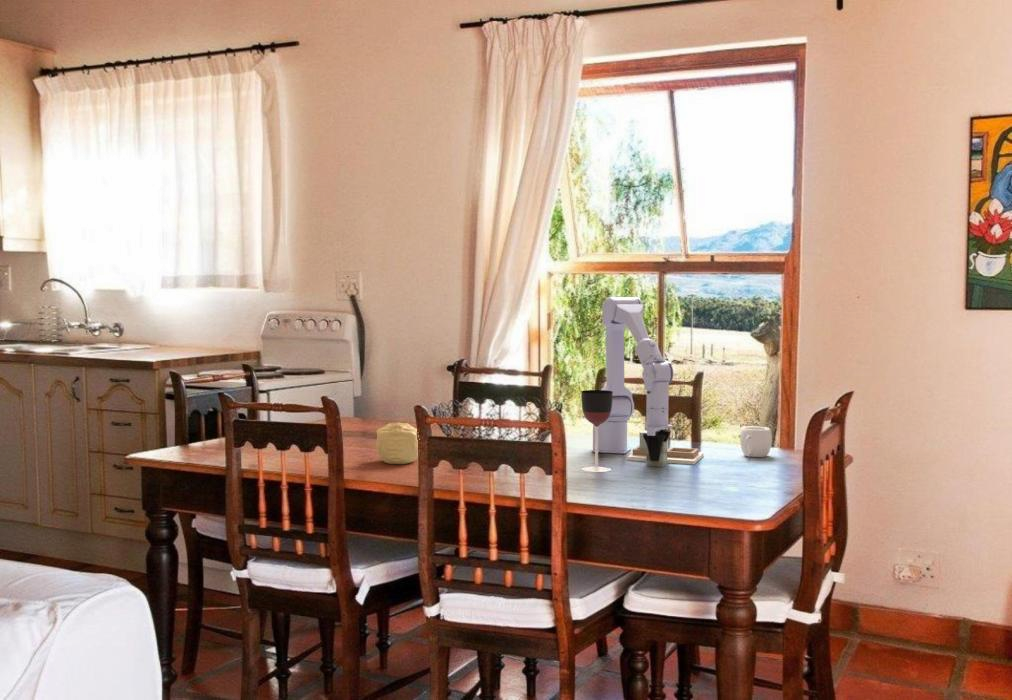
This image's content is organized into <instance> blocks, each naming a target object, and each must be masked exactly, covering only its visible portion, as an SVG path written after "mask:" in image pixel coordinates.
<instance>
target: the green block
mask: <svg viewBox="0 0 1012 700" xmlns="http://www.w3.org/2000/svg"><path fill="white" fill-rule="evenodd" d="M667 450H668V440H667V441H663V443H662V446H661V452H660V458H659V461H651V460H650V457H649V451H648V447H647V450H646V461H645V463H646V464H645V466H646V467H659V468H660V467H665V466H666V465H668V463H667Z"/></svg>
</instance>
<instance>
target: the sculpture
mask: <svg viewBox="0 0 1012 700" xmlns="http://www.w3.org/2000/svg"><path fill="white" fill-rule="evenodd" d="M417 429H418V428H416V427H414V426H412V425H410V423H407V422H404V423H402V422H399V421H398V422H395V423H394V422H393V423H392V422H391V423H390V422H389V423H387V424H385V425H384V426H382V427H379V428H377V429H376V431H375V432H376V437H377V438H376V441H375V442H376V443H375V445H376V450H377V453H378V457H379V459H380V460H381V461H383V462H384V463H385V464H390V465H406V464H410V463H412V462H414V461H415V460H416V459H417V457H418V455H419V454H418V440H417Z"/></svg>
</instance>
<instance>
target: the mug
mask: <svg viewBox="0 0 1012 700" xmlns="http://www.w3.org/2000/svg"><path fill="white" fill-rule="evenodd" d="M739 436H740V438H739V440H740V441H739V442H740V443H739V444H740V448H741V451H742V453H743V455H744V456H745V457H749V458H754V457H761V458H764V457H765V458H766V457H767V456H768V454H769V453H770V451H771V448H772V441H773V438H772V437H773V435H772V430H771V428H769V427H766V426H759V425H758V426H757V425H755V426H754V425H753V426H751V425H749V426H743V427H742V428H741V430H740V435H739Z"/></svg>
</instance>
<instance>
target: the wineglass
mask: <svg viewBox="0 0 1012 700" xmlns="http://www.w3.org/2000/svg"><path fill="white" fill-rule="evenodd" d="M613 397H614V396H613V392H612V391H607V390H601V389H587V390H586V389H585V390H582V391H580V398H581V409H582V413H583V416H584V418H585V420H587V421H588V422H589V423H591V424H592V425H595V452H594V466H587V467H582V468H581V470H582V471H584V472H591V473H603V472H605V473H606V472H610V471H612V469H611V468H609V467H605V466H599V452H598V426H599V425H600V424H602V423H604V422H605V421H606V420H607V419H608V418H609V416H610V413H611V409H612V399H613Z"/></svg>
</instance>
